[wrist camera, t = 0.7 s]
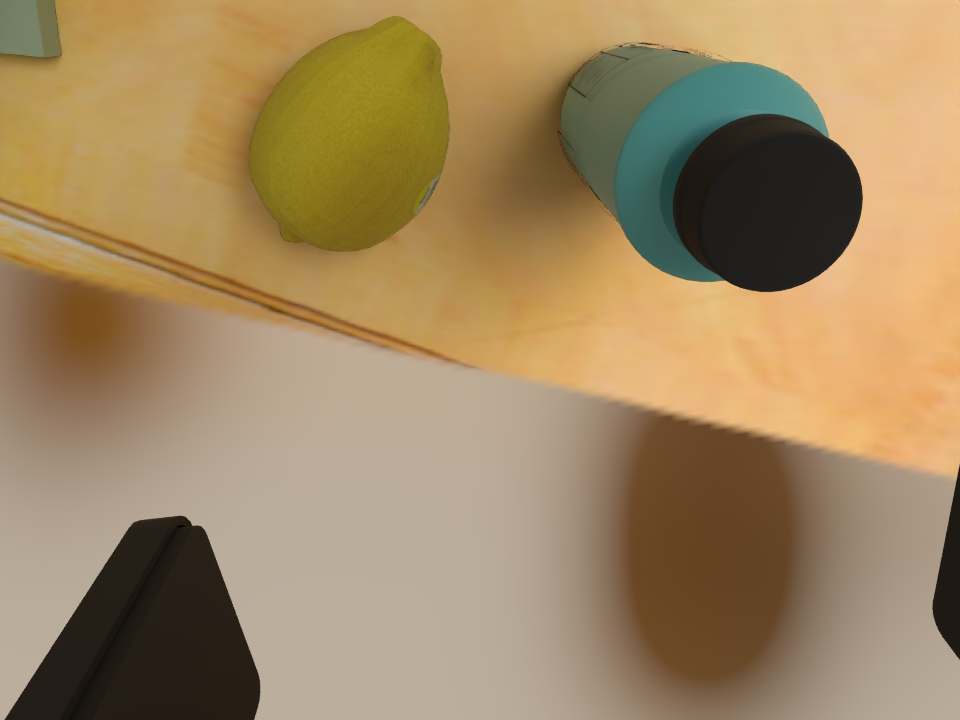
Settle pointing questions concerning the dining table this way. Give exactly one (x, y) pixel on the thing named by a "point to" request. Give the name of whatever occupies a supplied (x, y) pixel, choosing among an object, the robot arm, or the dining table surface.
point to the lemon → (353, 137)
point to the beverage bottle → (712, 166)
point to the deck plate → (29, 28)
